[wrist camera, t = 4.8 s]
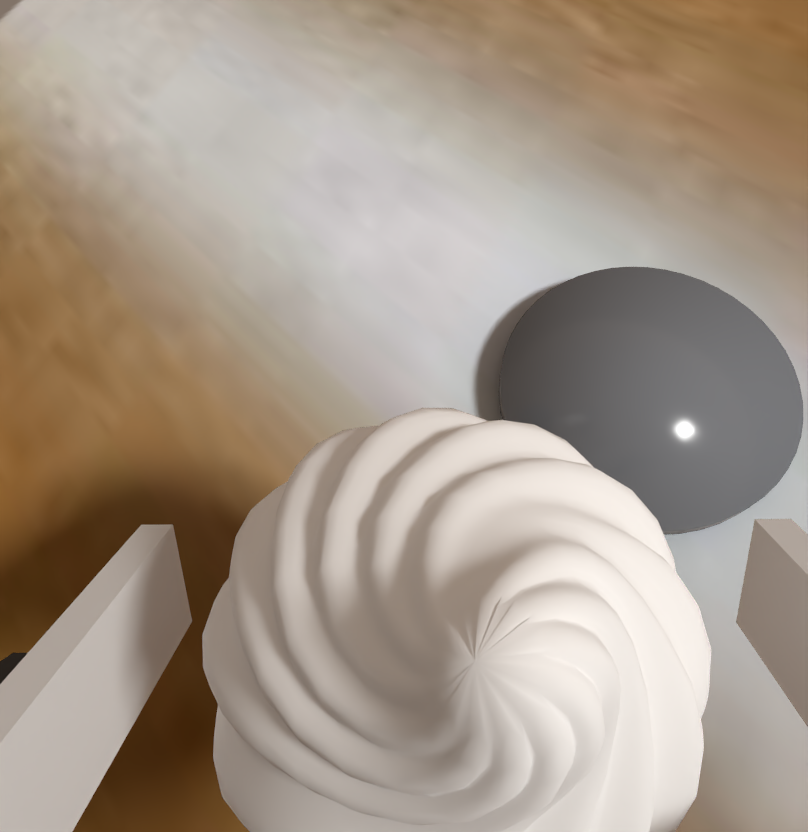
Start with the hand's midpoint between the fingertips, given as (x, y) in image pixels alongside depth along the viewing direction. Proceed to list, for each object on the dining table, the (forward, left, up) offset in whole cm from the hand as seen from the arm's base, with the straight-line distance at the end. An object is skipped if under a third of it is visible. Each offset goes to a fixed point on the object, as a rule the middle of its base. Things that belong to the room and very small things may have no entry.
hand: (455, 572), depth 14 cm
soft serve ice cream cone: (+1, -1, -8) cm, 8 cm away
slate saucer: (-4, +11, -8) cm, 14 cm away
